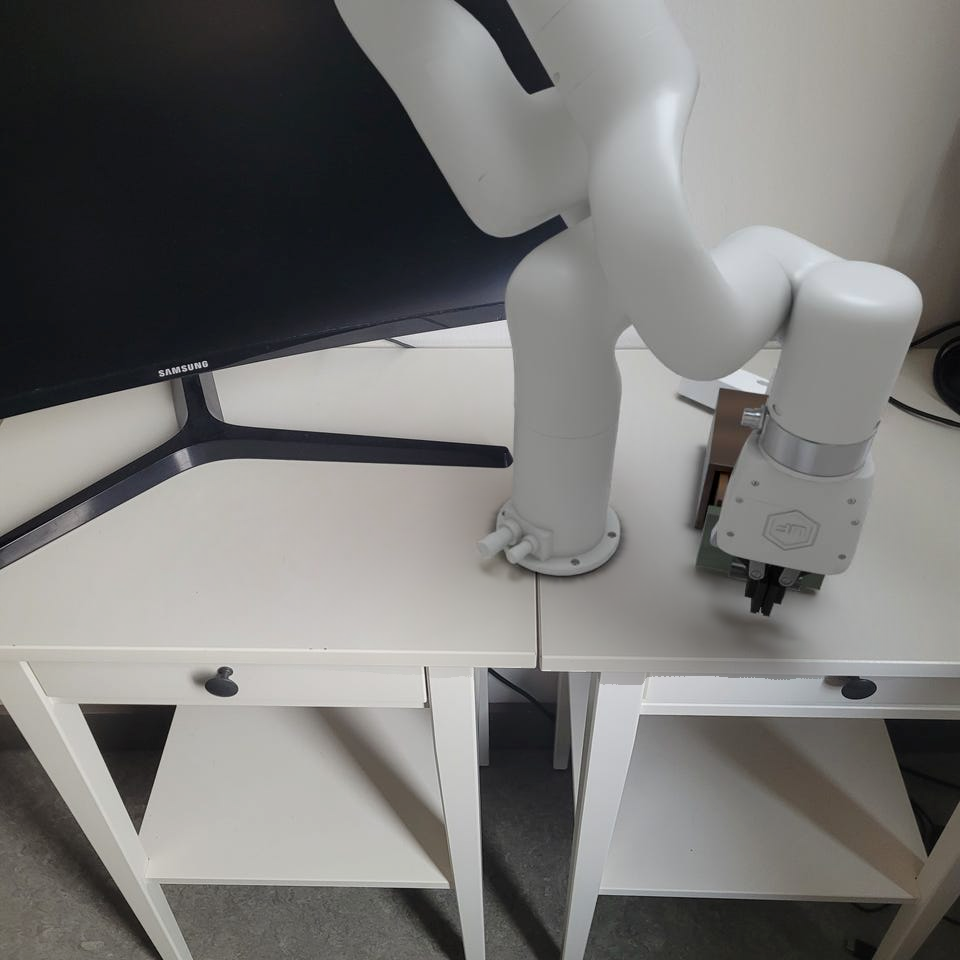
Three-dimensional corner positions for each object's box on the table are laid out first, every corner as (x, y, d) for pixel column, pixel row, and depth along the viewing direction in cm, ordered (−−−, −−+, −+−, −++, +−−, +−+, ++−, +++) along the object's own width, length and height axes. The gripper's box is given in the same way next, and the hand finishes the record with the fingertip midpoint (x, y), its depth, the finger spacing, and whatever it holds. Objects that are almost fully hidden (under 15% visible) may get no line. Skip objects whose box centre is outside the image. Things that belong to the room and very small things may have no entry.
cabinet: (822, 552, 81) (847, 486, 76) (694, 527, 84) (708, 462, 79) (820, 469, 91) (842, 405, 86) (706, 449, 94) (719, 387, 88)
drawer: (820, 627, 73) (841, 574, 68) (690, 599, 75) (702, 547, 71) (818, 504, 85) (835, 453, 81) (707, 484, 88) (718, 434, 83)
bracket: (797, 422, 99) (820, 365, 96) (772, 435, 94) (796, 375, 91) (704, 382, 106) (722, 327, 103) (677, 392, 101) (695, 335, 98)
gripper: (704, 446, 58) (667, 615, 70) (931, 486, 55) (852, 657, 66) (714, 389, 64) (678, 555, 75) (921, 423, 60) (850, 591, 72)
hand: (760, 602), depth 71 cm, fingers closed
